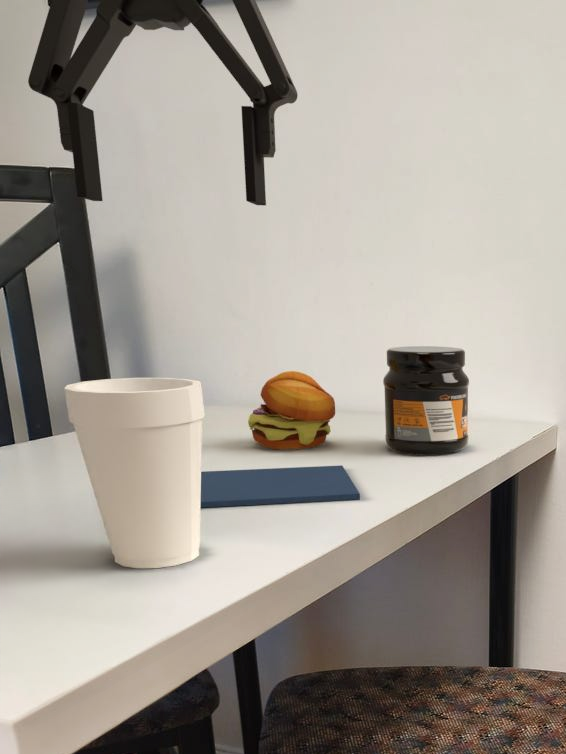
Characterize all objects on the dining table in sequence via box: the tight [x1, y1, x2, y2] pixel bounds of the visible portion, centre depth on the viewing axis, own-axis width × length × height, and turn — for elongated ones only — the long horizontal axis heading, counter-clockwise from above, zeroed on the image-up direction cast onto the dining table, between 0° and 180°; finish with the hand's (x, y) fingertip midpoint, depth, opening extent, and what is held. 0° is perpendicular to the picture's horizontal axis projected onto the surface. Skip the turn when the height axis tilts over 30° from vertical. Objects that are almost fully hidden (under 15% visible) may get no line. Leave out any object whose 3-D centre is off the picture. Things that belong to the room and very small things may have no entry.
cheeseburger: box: [247, 370, 336, 450], centre depth 112 cm, size 10×11×10 cm
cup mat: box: [200, 464, 361, 509], centre depth 91 cm, size 20×14×1 cm
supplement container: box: [382, 345, 470, 456], centre depth 110 cm, size 10×10×12 cm
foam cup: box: [63, 377, 206, 569], centre depth 67 cm, size 10×9×13 cm
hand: (172, 201), depth 71 cm, fingers open, 13 cm apart
